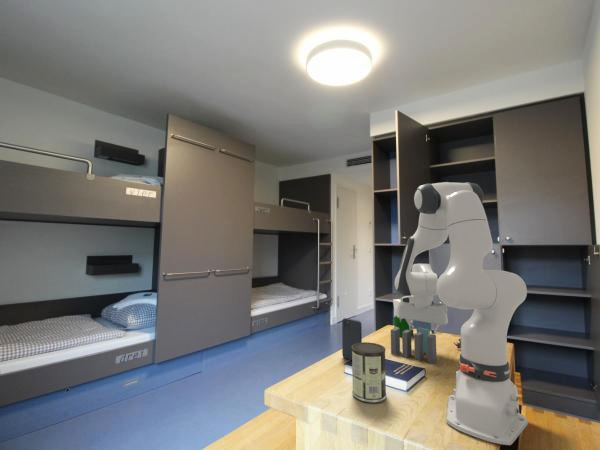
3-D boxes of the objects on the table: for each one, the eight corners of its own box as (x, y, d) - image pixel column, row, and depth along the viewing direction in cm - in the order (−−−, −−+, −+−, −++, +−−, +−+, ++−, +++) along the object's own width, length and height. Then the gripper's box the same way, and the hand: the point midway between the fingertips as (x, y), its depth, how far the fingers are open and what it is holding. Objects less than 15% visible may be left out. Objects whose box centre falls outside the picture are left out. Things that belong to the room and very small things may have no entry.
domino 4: (423, 357, 122) (423, 332, 123) (419, 360, 118) (419, 335, 119) (418, 356, 123) (418, 331, 124) (414, 359, 119) (414, 334, 120)
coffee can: (369, 383, 98) (369, 340, 99) (393, 397, 89) (392, 349, 90) (345, 391, 93) (344, 344, 94) (367, 406, 84) (367, 355, 85)
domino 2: (411, 354, 125) (411, 330, 126) (407, 357, 121) (406, 333, 122) (406, 353, 126) (406, 329, 127) (402, 356, 123) (402, 332, 123)
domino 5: (436, 360, 119) (435, 335, 120) (432, 364, 115) (432, 337, 116) (431, 359, 120) (430, 334, 121) (427, 362, 116) (426, 336, 117)
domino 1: (400, 351, 128) (399, 328, 129) (395, 354, 125) (395, 330, 125) (395, 350, 130) (395, 327, 130) (391, 353, 126) (390, 329, 127)
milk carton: (416, 337, 149) (415, 297, 151) (400, 338, 148) (399, 298, 149) (407, 332, 158) (406, 294, 160) (391, 333, 156) (390, 295, 158)
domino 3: (429, 354, 126) (428, 330, 127) (417, 351, 129) (416, 328, 130) (430, 352, 127) (429, 329, 128) (418, 350, 131) (418, 327, 131)
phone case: (341, 357, 121) (341, 318, 122) (343, 356, 122) (343, 317, 123) (360, 363, 114) (359, 321, 116) (362, 362, 116) (362, 321, 117)
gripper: (449, 301, 126) (450, 334, 125) (402, 296, 139) (402, 325, 138) (445, 304, 121) (446, 338, 120) (397, 297, 134) (397, 328, 133)
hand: (422, 331), depth 129 cm, fingers open, 8 cm apart
